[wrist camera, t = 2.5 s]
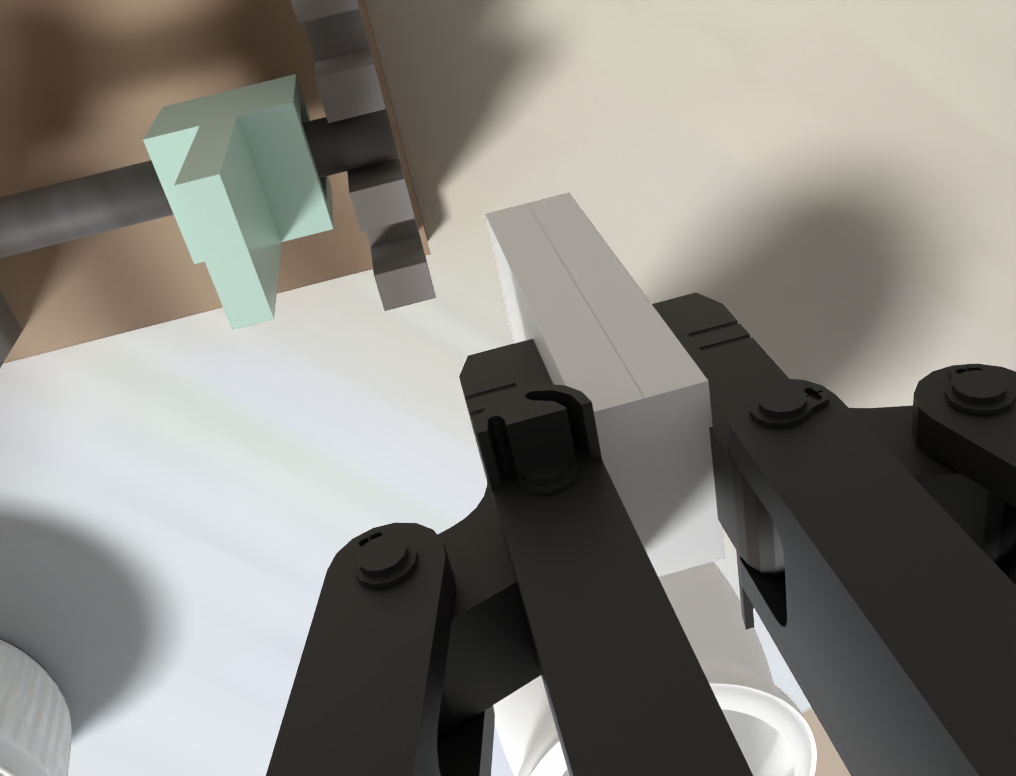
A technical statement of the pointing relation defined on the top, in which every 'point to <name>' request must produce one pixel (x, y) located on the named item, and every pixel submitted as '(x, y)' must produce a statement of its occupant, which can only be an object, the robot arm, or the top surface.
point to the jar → (728, 668)
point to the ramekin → (31, 718)
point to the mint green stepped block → (241, 187)
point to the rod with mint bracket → (133, 179)
